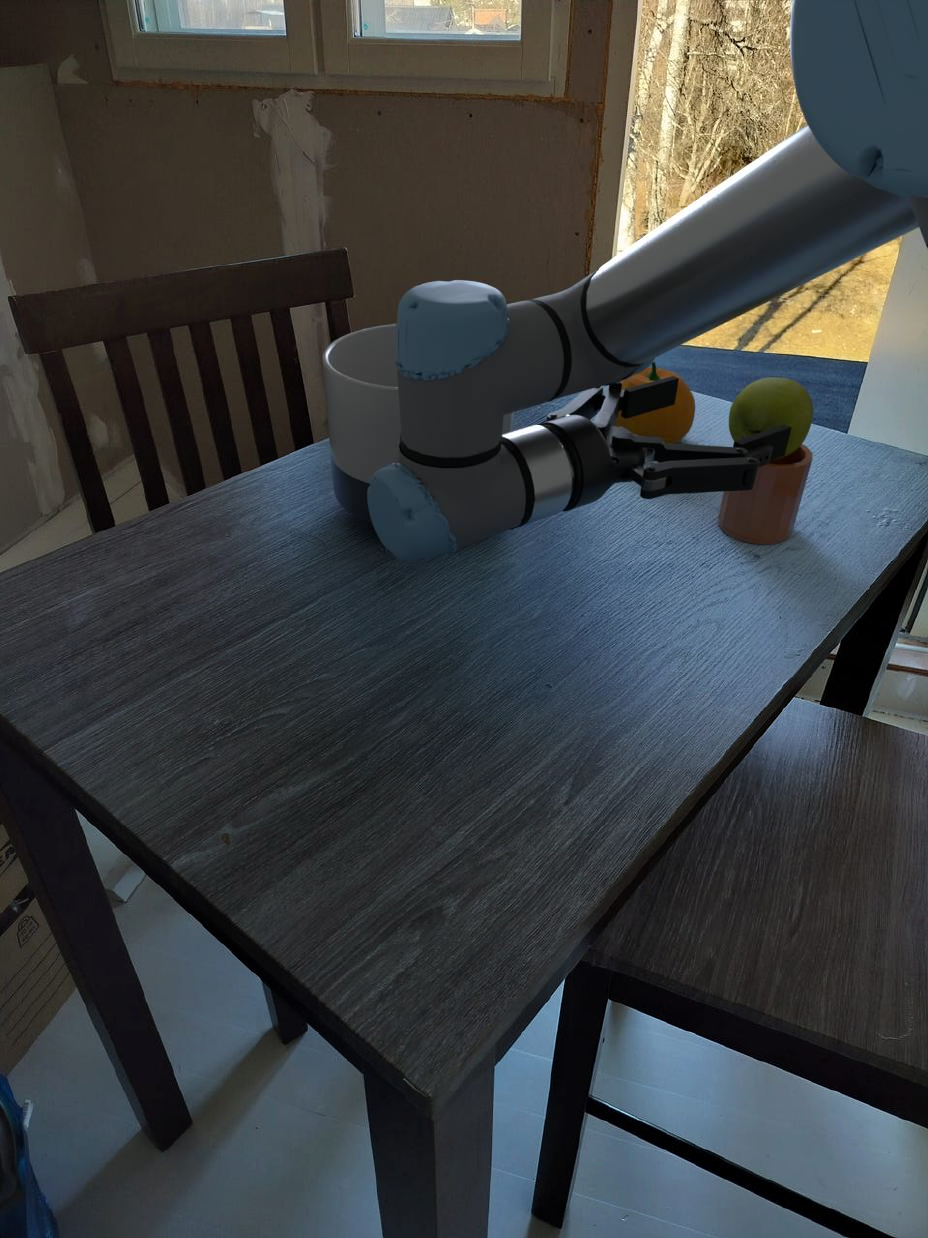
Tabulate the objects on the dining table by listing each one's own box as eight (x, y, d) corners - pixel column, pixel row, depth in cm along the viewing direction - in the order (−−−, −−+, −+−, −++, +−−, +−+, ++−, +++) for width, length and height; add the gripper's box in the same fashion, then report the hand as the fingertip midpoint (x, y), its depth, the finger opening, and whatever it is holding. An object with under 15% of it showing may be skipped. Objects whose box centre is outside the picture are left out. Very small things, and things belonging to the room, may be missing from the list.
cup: (803, 524, 93) (825, 449, 88) (771, 552, 88) (792, 474, 83) (738, 501, 97) (755, 427, 92) (704, 526, 93) (720, 450, 87)
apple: (716, 472, 88) (709, 399, 83) (754, 431, 93) (750, 361, 88) (791, 480, 83) (788, 404, 78) (827, 437, 88) (826, 363, 83)
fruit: (580, 438, 110) (587, 362, 104) (631, 412, 117) (641, 340, 111) (657, 467, 104) (670, 388, 98) (706, 437, 111) (721, 362, 105)
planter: (525, 549, 88) (535, 384, 78) (338, 561, 86) (323, 394, 76) (493, 465, 104) (498, 318, 93) (334, 474, 101) (320, 325, 91)
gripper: (463, 454, 81) (630, 406, 90) (647, 578, 64) (827, 503, 74) (464, 377, 76) (639, 336, 86) (662, 489, 60) (851, 422, 69)
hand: (726, 413), depth 80 cm, fingers open, 13 cm apart
